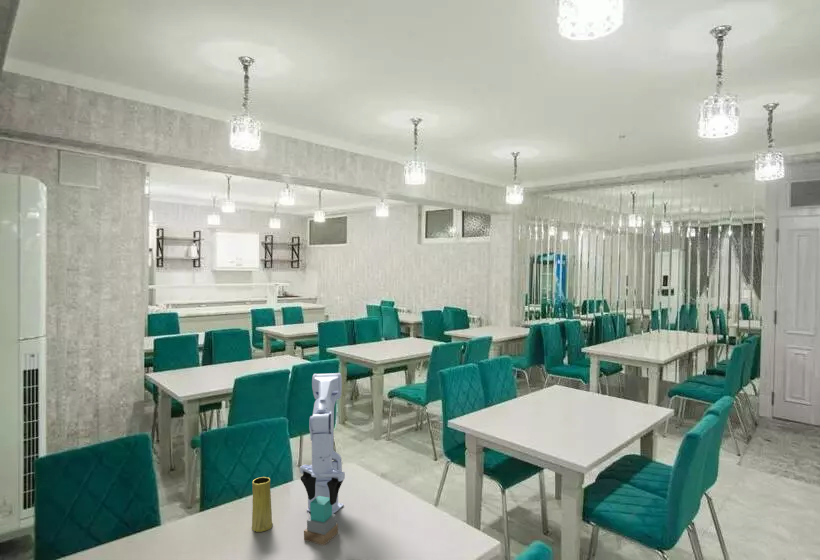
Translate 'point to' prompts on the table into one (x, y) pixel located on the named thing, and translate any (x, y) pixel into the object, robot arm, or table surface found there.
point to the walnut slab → (320, 536)
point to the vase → (261, 505)
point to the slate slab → (321, 525)
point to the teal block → (320, 509)
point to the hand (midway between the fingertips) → (322, 500)
